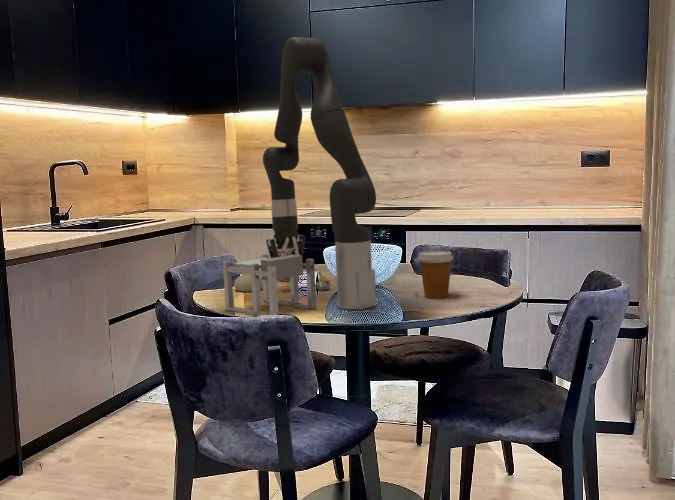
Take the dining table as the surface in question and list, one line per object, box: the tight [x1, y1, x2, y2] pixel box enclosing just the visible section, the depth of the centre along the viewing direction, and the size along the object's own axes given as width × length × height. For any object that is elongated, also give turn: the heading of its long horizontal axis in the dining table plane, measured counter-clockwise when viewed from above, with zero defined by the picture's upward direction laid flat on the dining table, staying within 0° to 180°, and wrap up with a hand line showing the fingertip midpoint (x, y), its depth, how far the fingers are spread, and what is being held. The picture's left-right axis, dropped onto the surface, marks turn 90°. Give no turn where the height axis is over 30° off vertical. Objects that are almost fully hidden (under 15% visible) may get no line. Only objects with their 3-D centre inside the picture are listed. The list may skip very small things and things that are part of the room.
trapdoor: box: [232, 255, 304, 281], centre depth 176 cm, size 15×11×5 cm
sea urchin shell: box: [233, 274, 263, 293], centre depth 207 cm, size 9×8×8 cm
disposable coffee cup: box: [417, 250, 454, 299], centre depth 185 cm, size 10×10×12 cm
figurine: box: [315, 271, 331, 292], centre depth 202 cm, size 5×4×6 cm
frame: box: [222, 253, 317, 316], centre depth 177 cm, size 20×14×13 cm
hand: (288, 270), depth 203 cm, fingers closed on basalt cube, 5 cm apart
